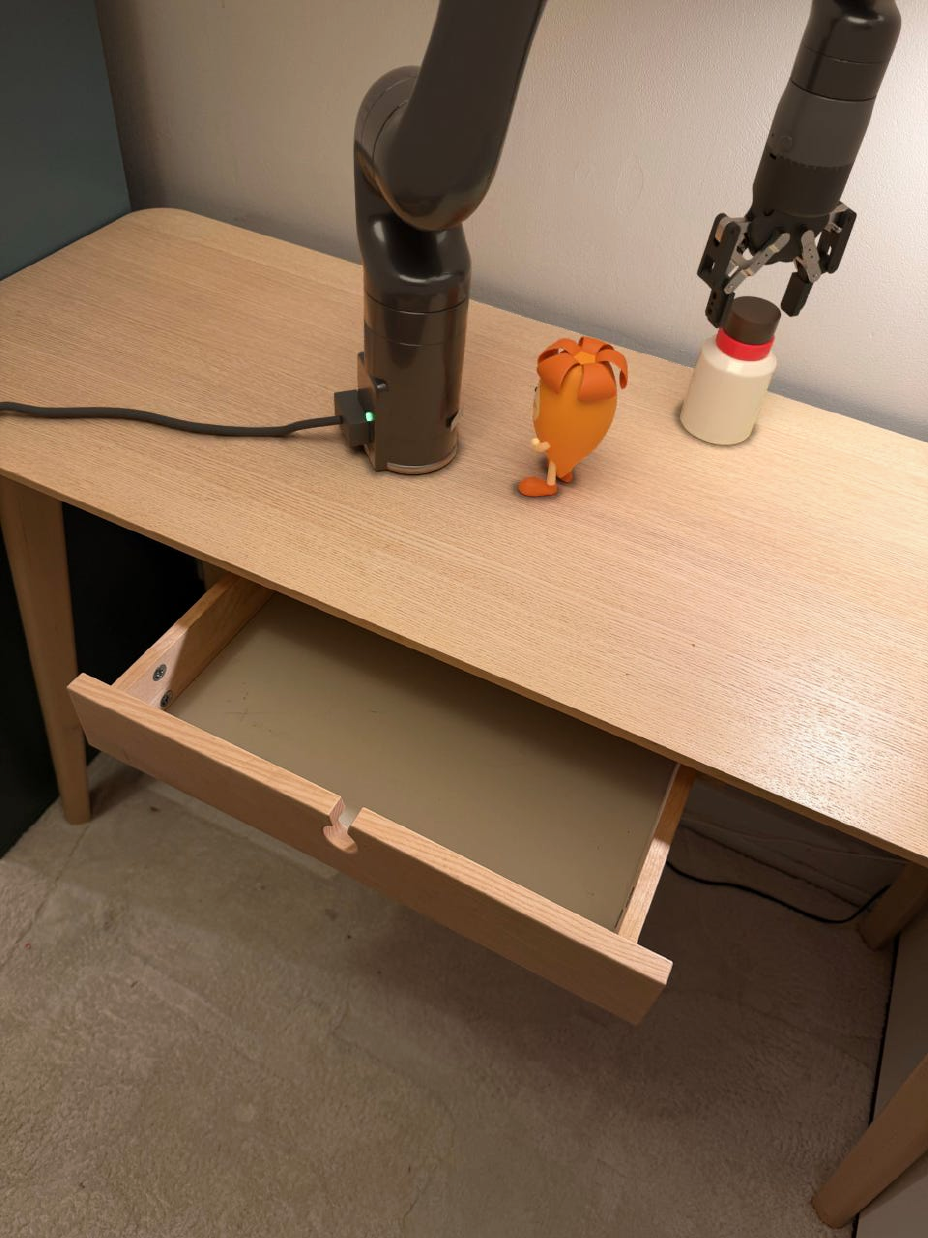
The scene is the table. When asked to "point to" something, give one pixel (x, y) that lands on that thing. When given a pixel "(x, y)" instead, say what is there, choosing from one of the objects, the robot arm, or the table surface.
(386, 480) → the table surface
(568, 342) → the toy figure
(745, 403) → the pill bottle
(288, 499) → the table surface
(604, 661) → the table surface
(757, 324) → the brown hockey puck
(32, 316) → the table surface
